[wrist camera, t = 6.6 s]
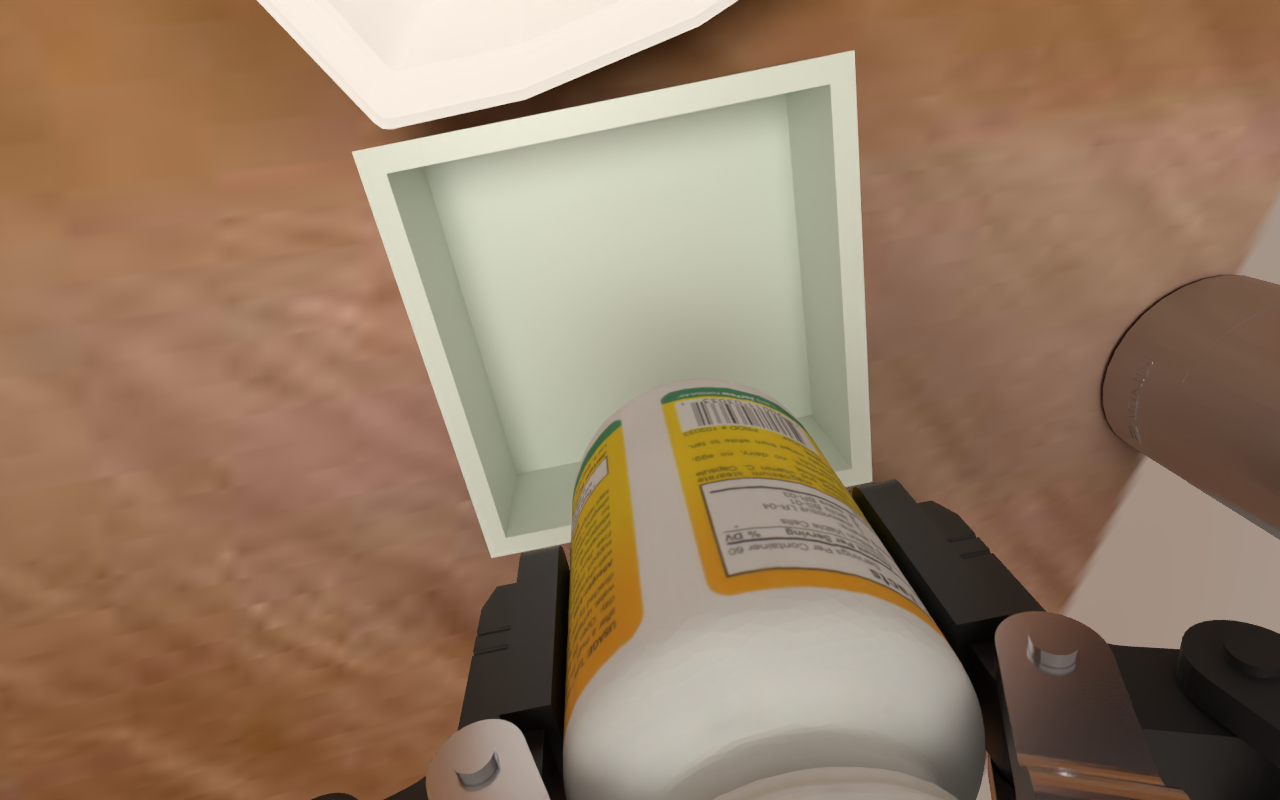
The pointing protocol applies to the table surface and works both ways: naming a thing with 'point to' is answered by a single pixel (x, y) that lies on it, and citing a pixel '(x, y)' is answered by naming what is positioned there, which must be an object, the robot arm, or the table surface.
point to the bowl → (472, 47)
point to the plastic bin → (631, 272)
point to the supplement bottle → (746, 621)
